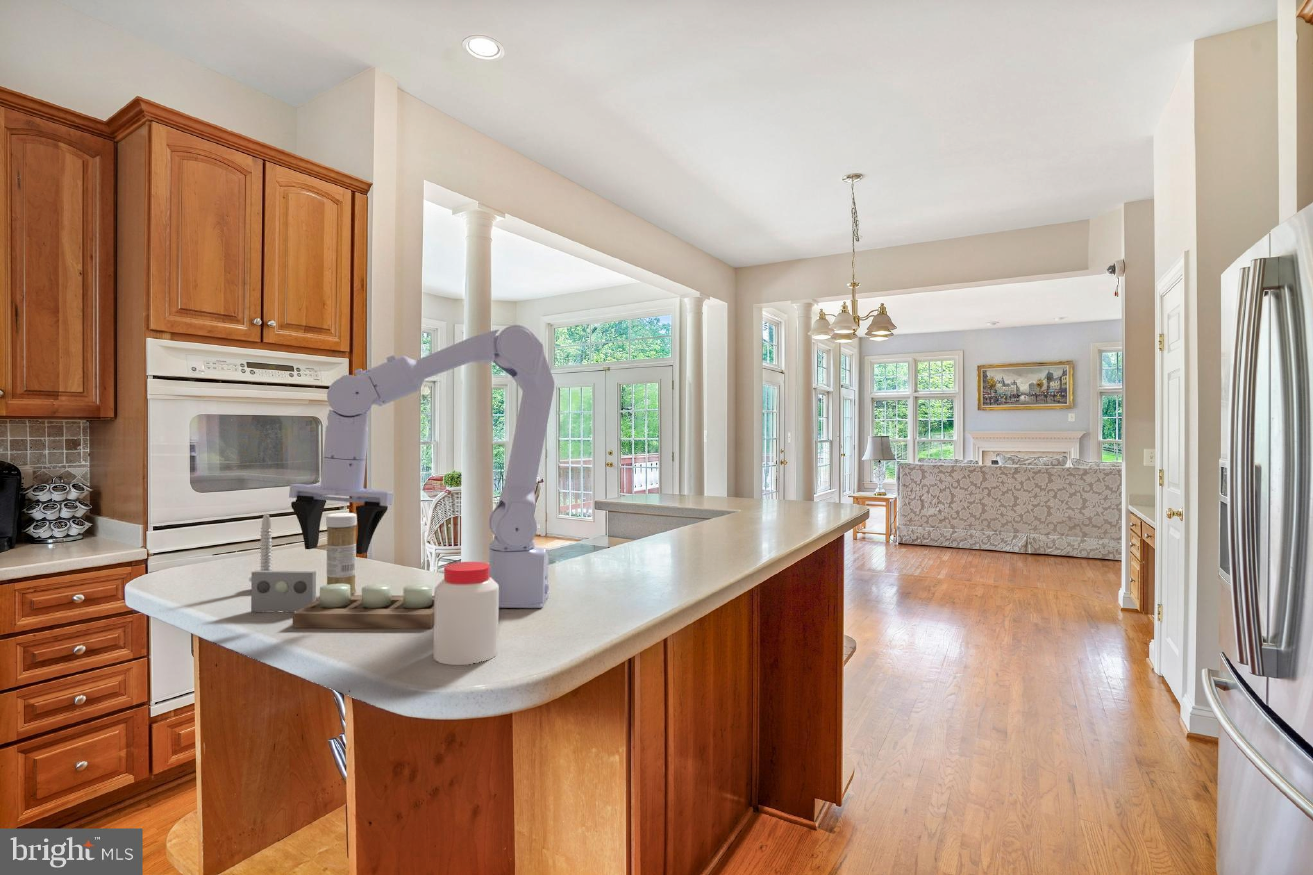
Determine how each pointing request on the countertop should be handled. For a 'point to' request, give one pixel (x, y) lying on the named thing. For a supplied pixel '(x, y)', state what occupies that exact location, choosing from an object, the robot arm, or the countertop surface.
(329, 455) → the robot arm
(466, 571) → the pill bottle
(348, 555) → the sprinkles bottle
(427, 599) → the button
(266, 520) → the screw
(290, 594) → the card
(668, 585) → the countertop surface
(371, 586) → the button mid
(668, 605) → the countertop surface
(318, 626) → the wooden compartment tray
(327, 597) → the button
